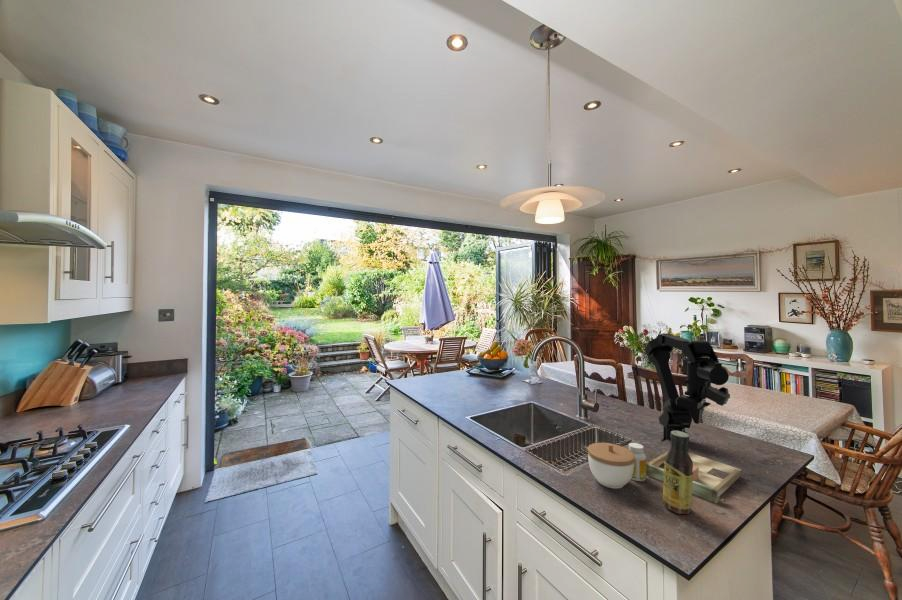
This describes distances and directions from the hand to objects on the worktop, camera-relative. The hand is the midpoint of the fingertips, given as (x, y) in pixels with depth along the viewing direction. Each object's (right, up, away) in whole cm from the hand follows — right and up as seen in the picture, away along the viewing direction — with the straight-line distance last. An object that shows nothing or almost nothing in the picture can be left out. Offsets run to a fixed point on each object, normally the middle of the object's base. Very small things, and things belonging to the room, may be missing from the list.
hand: (696, 423), depth 115 cm
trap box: (-7, -12, -10) cm, 17 cm away
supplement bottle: (-27, -12, -12) cm, 32 cm away
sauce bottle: (-25, -13, -27) cm, 39 cm away
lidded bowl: (-36, -12, -14) cm, 41 cm away
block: (-15, -11, -14) cm, 23 cm away
